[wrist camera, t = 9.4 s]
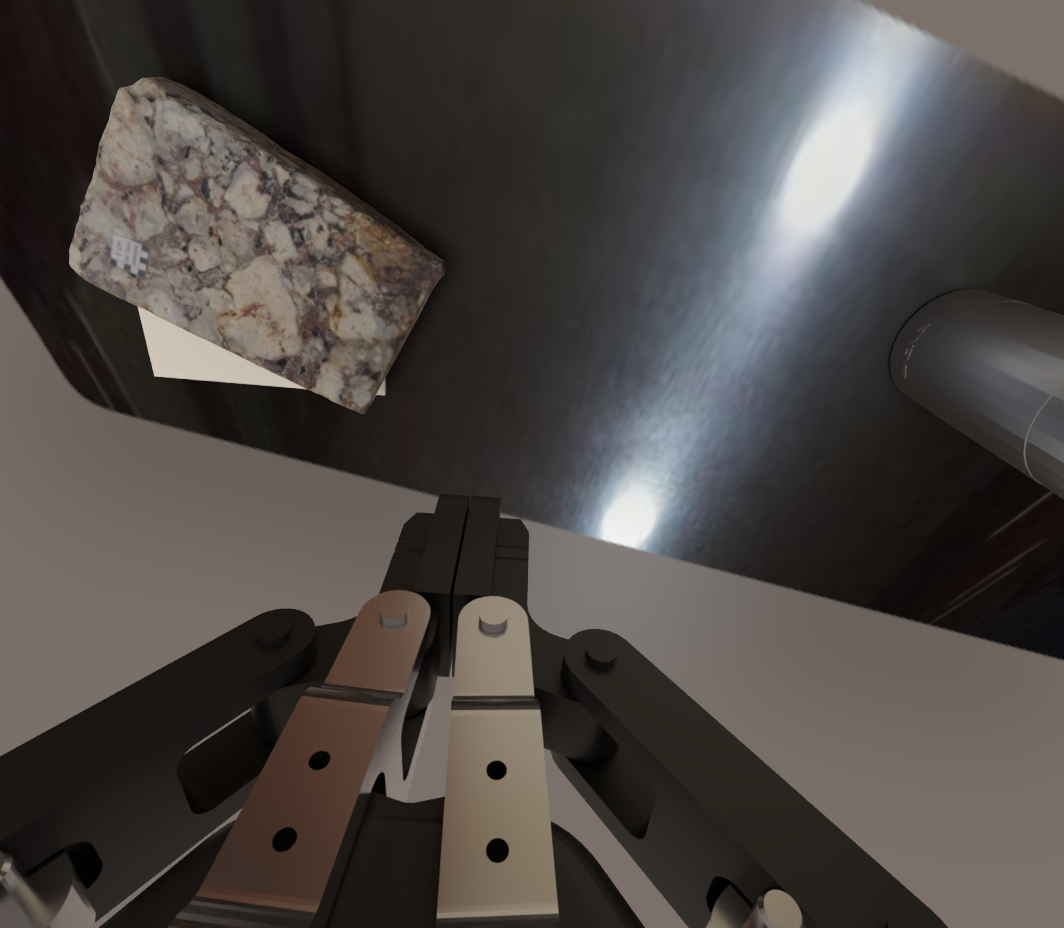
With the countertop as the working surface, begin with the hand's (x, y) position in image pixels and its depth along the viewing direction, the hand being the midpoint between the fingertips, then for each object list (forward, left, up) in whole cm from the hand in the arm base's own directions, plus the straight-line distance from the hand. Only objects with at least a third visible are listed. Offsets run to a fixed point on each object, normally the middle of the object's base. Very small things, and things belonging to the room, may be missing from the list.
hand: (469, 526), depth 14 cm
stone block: (+6, +5, -29) cm, 30 cm away
